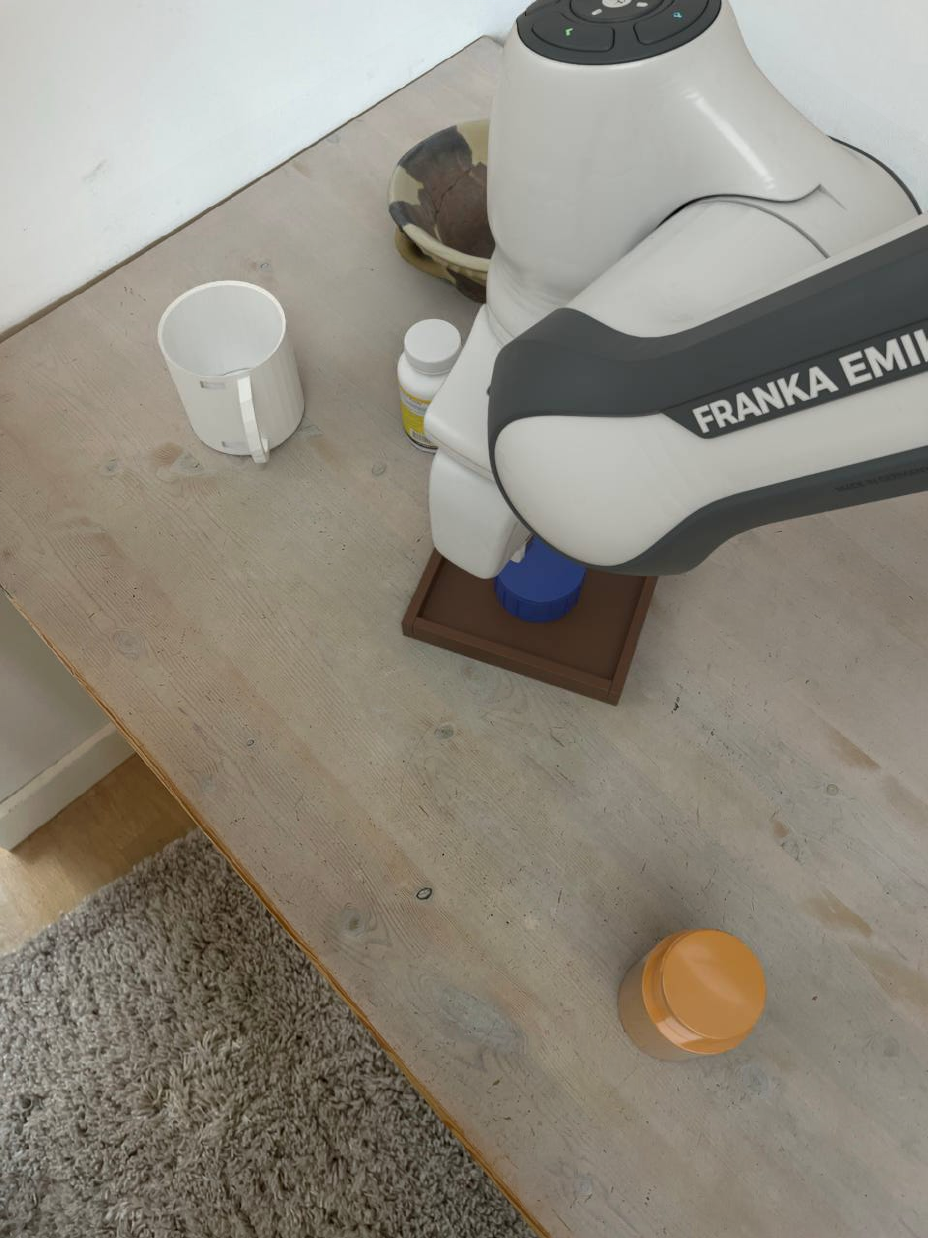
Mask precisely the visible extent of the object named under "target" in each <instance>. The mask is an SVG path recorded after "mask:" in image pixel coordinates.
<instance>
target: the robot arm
mask: <svg viewBox="0 0 928 1238" xmlns="http://www.w3.org/2000/svg"><path fill="white" fill-rule="evenodd" d="M489 118H490V126H489V139H488V159H487V214H488V221H489V225H490V229H491V232H492V235H493V237H494V240H495V244H496V246H495V250H494V252H493V254H492V257H491V260H490V264H489V267H488V273H487V282H486V302H485V303H483V304H482V305H481V306H480V308H479V310H478V312H477V314H476V317H475V318H474V322H473V324H472V327H471V329H470V332H469V334H468V337H467V339H466V341H465V344H464V345H463V347H462V349H463V350H462V352H461V354H460V356H459V357H458V359H457V361H456V362H455V364H454V366H453V368H452V369H451V371H450V373H449V374H448V376H447V378H446V379H445V381H444V382H443V384H442V386H441V387H440V389H439V390H438V392H437V394H436V395H435V397H434V398H433V400H432V401H431V403H430V405H429V406H428V408H427V410H426V413H425V416H424V422H423V427H424V434H425V437H426V438H427V439H428V440H429V441H430V442H432V443H433V444H434V445H436V446H437V447H438V450H437V452H436V453H434V454H435V455H434V457H433V459H432V463H431V466H430V471H429V478H428V508H429V509H428V510H429V523H430V531H431V538H432V543H433V545H434V547H436V549H437V550H438V551H439V552H440V553H441V554H442V555H443V556H444V557H445V558H447V559H448V560H450V561H451V562H452V563H454V564H455V565H457V566H459V567H460V568H462V569H464V570H465V571H467V572H469V573H471V574H473V575H475V576H477V577H479V578H483V579H489V578H493V577H495V576H497V575H498V574H499V573H500V572H501V571H502V569H503V568H504V567H505V565H506V564H507V563H508V561H509V560H512V561H514V562H516V563H519V562H520V561H521V560H522V559H523V557H524V556H525V555H526V554H527V552H528V551H529V550H530V548H531V547H532V546H533V543H534V542H533V539H534V536H535V537H536V538H537V539H538V540H540V541H541V542H542V543H543V544H545V545H546V546H547V547H548V548H550V549H551V550H553V551H554V552H556V553H557V554H559V555H560V556H562V557H564V558H566V559H568V560H569V561H571V562H574V563H576V564H578V565H581V566H583V567H586V568H590V569H594V570H598V571H603V572H608V573H614V574H622V575H633V576H659V577H664V576H665V577H666V576H676V575H678V576H679V575H682V574H685V573H688V572H690V571H692V570H694V569H695V568H697V567H698V566H699V565H701V564H702V563H703V562H704V561H706V559H708V558H709V557H710V556H711V555H712V554H713V553H714V552H715V551H716V550H717V549H719V547H721V546H722V545H723V544H724V543H726V542H727V541H729V540H731V539H732V538H734V537H736V536H738V535H740V534H742V533H746V532H747V531H750V530H754V529H756V528H759V527H764V526H767V525H772V524H776V523H780V522H784V521H789V520H790V521H791V520H793V519H799V518H804V517H808V516H812V515H818V514H822V513H823V514H824V513H828V512H833V511H838V510H842V509H846V508H850V507H856V506H860V505H866V504H871V503H876V502H880V501H885V500H890V499H895V498H898V497H904V496H909V495H913V494H918V493H923V492H928V210H926V211H924V212H923V211H922V209H921V207H920V205H919V203H918V201H917V199H916V197H915V196H914V194H913V193H912V191H911V190H910V188H909V187H908V186H907V184H906V183H905V182H904V181H903V180H902V179H901V178H900V176H898V175H897V173H896V172H895V171H894V170H892V169H891V168H890V167H889V166H887V165H886V164H885V163H884V162H882V161H881V160H880V159H878V158H877V157H875V156H873V155H872V154H870V153H869V152H866V151H864V150H863V149H861V148H859V147H856V146H854V145H852V144H850V143H847V142H845V141H843V140H840V139H838V138H835V137H833V136H831V135H828V134H826V133H824V132H823V130H821V129H820V128H819V127H818V126H816V125H815V123H813V122H812V121H810V120H809V118H807V117H806V116H805V115H804V114H803V113H802V112H801V111H800V110H799V109H797V107H795V105H793V104H792V103H791V102H790V101H789V100H788V99H787V97H785V96H784V95H783V94H782V93H781V92H780V91H779V90H778V89H777V87H775V85H774V84H773V83H772V82H771V81H770V80H769V78H768V77H767V76H766V75H765V74H764V72H763V71H762V70H761V68H760V67H759V66H758V64H757V62H756V61H755V59H754V58H753V56H752V54H751V53H750V50H749V48H748V46H747V45H746V42H745V38H744V36H743V34H742V30H741V29H740V26H739V23H738V20H737V16H736V14H735V12H734V10H733V7H732V5H731V3H730V1H729V0H535V1H532V3H530V5H528V6H527V7H526V8H525V10H524V11H523V12H521V13H520V14H519V15H518V16H517V17H516V18H515V20H514V22H513V24H512V26H511V28H510V30H509V32H508V34H507V37H506V39H505V41H504V45H503V48H502V51H501V55H500V57H499V62H498V65H497V70H496V75H495V80H494V86H493V91H492V99H491V106H490V115H489Z"/></svg>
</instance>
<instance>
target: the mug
mask: <svg viewBox="0 0 928 1238" xmlns="http://www.w3.org/2000/svg"><path fill="white" fill-rule="evenodd" d="M157 342H158V345H159V348H160V350H161V353H162V355H163V358H164V360H165V363H166V365H167V368H168V371H169V373H170V375H171V378H172V381H173V383H174V385H175V388H176V391H177V393H178V396H179V397H180V400H181V402H182V405H183V408H184V410H185V413H186V416H187V418H188V420H189V422H190V426H191V428H192V430H193V432H194V433H195V435H196V436H197V438H198V439H199V440H200V441H201V442H202V443H204V444H205V445H206V446H208V447H210V449H213V450H215V451H217V452H220V453H222V454H223V453H224V454H226V455H230V456H231V455H232V456H242V457H243V456H251V457H252V459H253V462H254V464H255V465H257V464H264V463H267V462H268V461H270V451H272V450H273V449H275V448H276V447H278V446H280V445H281V444H283V443H284V442H285V441H286V440H288V439H289V438H290V437H291V436H292V435H293V433H295V431H296V430H297V428H298V427H299V425H300V423H301V421H302V419H303V415H304V412H305V399H304V394H303V390H302V384H301V380H300V377H299V371H298V368H297V367H298V366H297V364H296V359H295V354H294V349H293V344H292V341H291V335H290V332H289V328H288V323H287V318H286V316H285V311H284V309H283V306H282V305H281V303H280V301H278V299H277V298H276V297H275V296H274V295H273V294H271V293H270V292H269V291H268V290H266V289H264V288H263V287H261V286H258V285H257V284H253V283H250V282H247V281H240V280H234V279H233V280H218V281H211V282H207V283H204V284H200V285H197V286H195V287H193V288H190V289H189V290H187V291H185V292H184V293H182V294H181V295H179V296H178V297H176V298H175V300H173V301H172V302H171V304H169V305H168V306H167V308H166V309H165V311H164V312H163V314H162V316H161V318H160V321H159V322H158V328H157Z"/></svg>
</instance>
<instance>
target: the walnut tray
mask: <svg viewBox="0 0 928 1238" xmlns="http://www.w3.org/2000/svg"><path fill="white" fill-rule="evenodd" d="M585 571H586V574H585V579H584V583H583V588H582V590H581V592H580V596H579V598H578V602H577V604H575V606H574V607H573V608H572V609H571V610H570V611H569V612H568V613H567V614H566V615H564V616H563V617H561V618H559V619H556V620H553V621H551V622H543V623H534V622H528V621H524V620H522V619H519V618H517V617H515V616H513V615H512V614H510V613H509V612H508V611H507V610H506V609H505V608H504V607H502V605H501V603H500V602H499V600H498V598H497V596H496V593H495V592H494V589H495V587H494V578H489V579H483V578H479V577H477V576H475V575H473V574H471V573H469V572H467V571H465V570H464V569H462V568H460V567H459V566H457V565H455V564H454V563H452V562H451V561H450V560H448V559H447V558H445V557H444V556H443V555H442V554H441V553H440V552H439V551H438V550H437V549H436V547H435V546H434V548H433V550H432V552H431V553H430V557H429V559H428V561H427V564H426V566H425V567H424V570H423V572H422V575H421V577H420V579H419V581H418V584H417V586H416V587H415V591H414V593H413V595H412V597H411V599H410V601H409V604H408V606H407V608H406V611H405V613H404V615H403V617H402V620H401V631H402V635H403V636H404V637H407V638H410V639H412V640H416V641H419V642H422V643H425V644H428V645H431V646H434V647H437V648H440V649H443V650H446V651H448V652H452V653H455V654H458V655H461V656H464V657H468V658H470V659H472V660H476V661H478V662H481V663H485V664H487V665H491V666H495V667H496V668H500V669H503V670H506V671H509V672H512V673H515V674H517V675H521V676H524V677H527V678H530V679H533V680H536V681H539V682H542V683H545V684H548V685H551V686H554V687H557V688H559V689H563V690H565V691H569V692H571V693H574V694H577V695H581V696H583V697H587V698H589V699H593V700H596V701H599V702H602V703H604V704H608V705H611V706H614V707H617V706H618V704H619V701H620V698H621V695H622V693H623V691H624V687H625V683H626V680H627V677H628V673H629V671H630V669H631V664H632V662H633V658H634V655H635V653H636V649H637V646H638V642H639V640H640V636H641V633H642V631H643V627H644V623H645V621H646V618H647V615H648V611H649V608H650V605H651V601H652V599H653V595H654V592H655V589H656V585H657V583H658V580H659V577H660V576H633V575H622V574H614V573H608V572H603V571H598V570H594V569H590V568H585Z"/></svg>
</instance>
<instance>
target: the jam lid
mask: <svg viewBox="0 0 928 1238" xmlns="http://www.w3.org/2000/svg"><path fill="white" fill-rule="evenodd" d="M533 542H534V543H533V546H532V547H531V548H530V550H529V551H528V552H527V554H526V555H525V556H524V557H523V559H522V560H521V561H520V562H519V563H516V562H514V561H512V560H509V561H508V563H507V564H506V565H505V567H504V568H503V569H502V571H501V572H500V573H499V574H498V575H497V576H495V577H493V578H494V587H495V589H494V592H495V593H496V596H497V598H498V600H499V602H500V603H501V605H502V607H504V608H505V609H506V610H507V611H508V612H509V613H510V614H512V615H513V616H515V617H517V618H519V619H522V620H524V621H528V622H534V623H543V622H551V621H553V620H556V619H559V618H561V617H563V616H564V615H566V614H567V613H568V612H569V611H570V610H571V609H572V608H573V607H574V606H575V604H577V602H578V598H579V596H580V592H581V590H582V588H583V583H584V579H585V574H586V571H585V568H586V567H583V566H581V565H578V564H576V563H574V562H571V561H569V560H568V559H566V558H564V557H562V556H560V555H559V554H557V553H556V552H554V551H553V550H551V549H550V548H548V547H547V546H546V545H545V544H543V543H542V542H541V541H540V540H538V539H537V538H536V537H535V536H534V539H533Z"/></svg>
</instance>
